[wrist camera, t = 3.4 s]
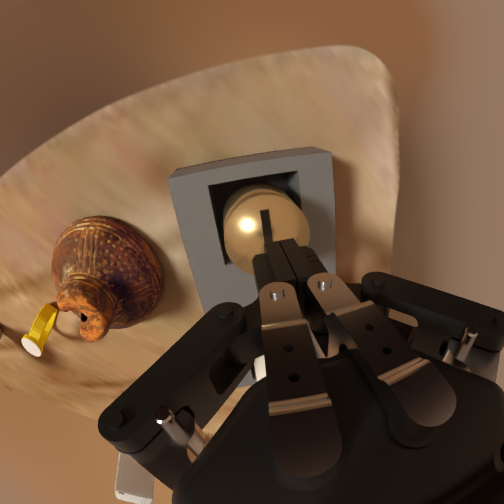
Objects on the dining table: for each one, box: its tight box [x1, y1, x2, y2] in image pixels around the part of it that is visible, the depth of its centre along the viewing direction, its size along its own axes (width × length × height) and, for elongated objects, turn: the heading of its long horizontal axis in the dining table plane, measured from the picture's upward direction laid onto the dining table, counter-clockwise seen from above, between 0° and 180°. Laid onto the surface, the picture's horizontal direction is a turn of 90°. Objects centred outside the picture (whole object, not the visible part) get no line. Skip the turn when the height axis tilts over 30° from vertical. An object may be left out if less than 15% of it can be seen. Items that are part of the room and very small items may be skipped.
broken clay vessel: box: [51, 216, 163, 341], centre depth 20 cm, size 12×12×7 cm
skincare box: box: [115, 452, 154, 504], centre depth 30 cm, size 8×6×15 cm
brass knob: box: [223, 182, 310, 275], centre depth 17 cm, size 5×5×4 cm
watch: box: [21, 303, 58, 357], centre depth 22 cm, size 6×3×6 cm, turn 141°
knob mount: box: [167, 147, 336, 388], centre depth 24 cm, size 22×11×4 cm, turn 8°
